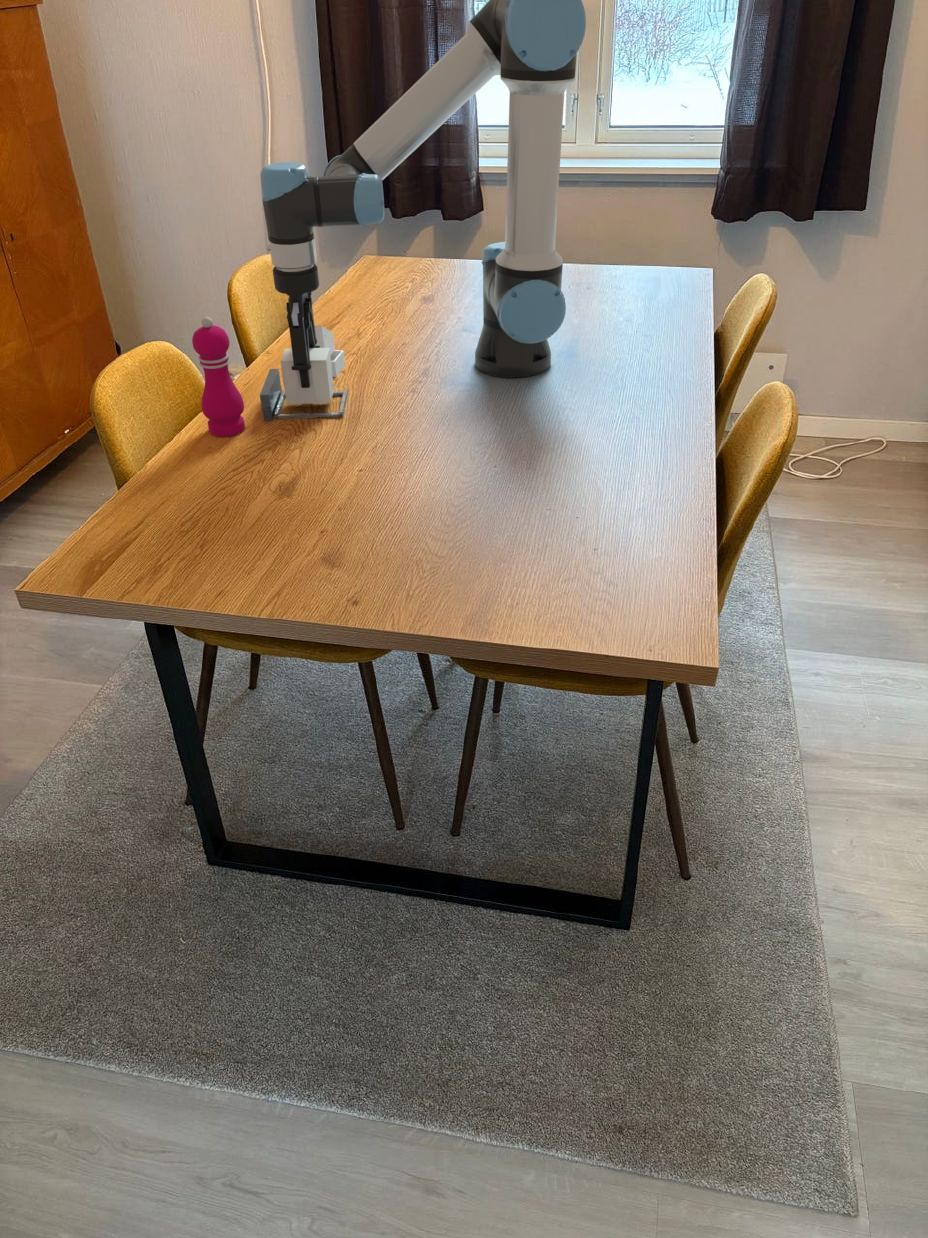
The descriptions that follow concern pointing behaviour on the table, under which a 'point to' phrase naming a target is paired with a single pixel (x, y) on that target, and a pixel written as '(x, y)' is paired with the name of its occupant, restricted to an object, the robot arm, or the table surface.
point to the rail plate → (275, 399)
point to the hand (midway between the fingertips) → (310, 394)
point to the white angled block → (327, 341)
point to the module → (321, 375)
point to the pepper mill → (218, 381)
